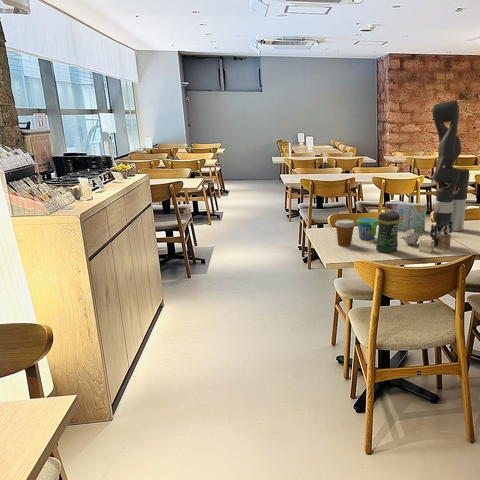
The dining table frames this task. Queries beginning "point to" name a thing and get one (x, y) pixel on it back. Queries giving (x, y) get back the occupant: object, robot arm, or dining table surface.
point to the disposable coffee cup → (344, 231)
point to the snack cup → (367, 228)
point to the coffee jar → (388, 232)
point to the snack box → (408, 215)
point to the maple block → (426, 245)
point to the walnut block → (443, 241)
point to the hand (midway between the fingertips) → (440, 244)
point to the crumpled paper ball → (411, 236)
